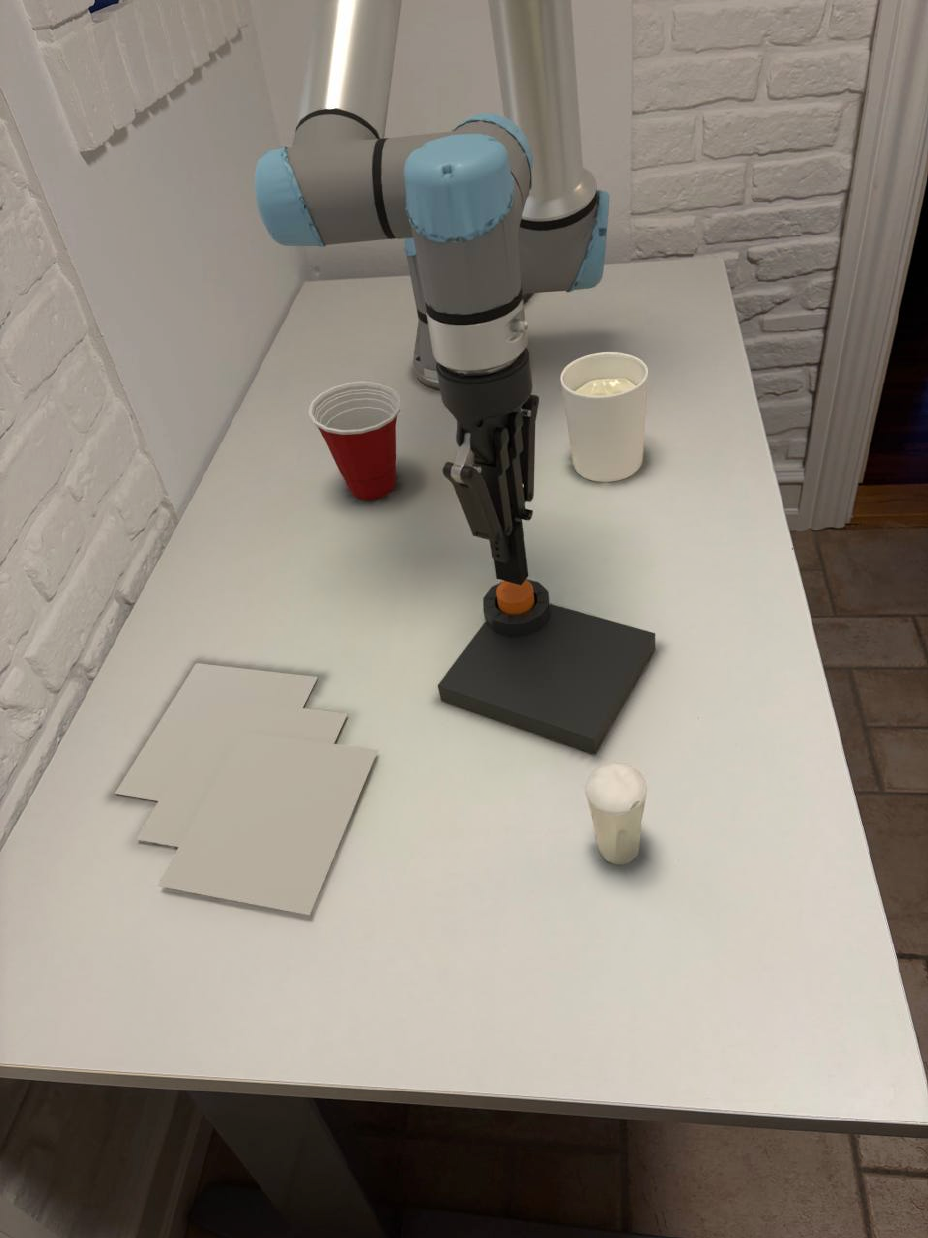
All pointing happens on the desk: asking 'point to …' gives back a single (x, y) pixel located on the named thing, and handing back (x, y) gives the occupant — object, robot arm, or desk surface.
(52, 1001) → the desk surface
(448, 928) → the desk surface
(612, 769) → the milkshake
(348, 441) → the plastic cup
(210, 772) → the paper stack
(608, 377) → the white paper cup
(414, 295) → the robot arm
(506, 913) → the desk surface
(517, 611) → the button
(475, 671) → the dark grey flat block
